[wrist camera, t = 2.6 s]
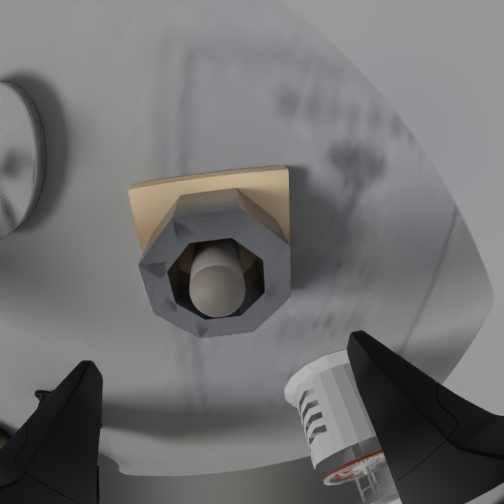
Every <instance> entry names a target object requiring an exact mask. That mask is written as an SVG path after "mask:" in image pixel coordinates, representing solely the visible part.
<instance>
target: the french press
mask: <svg viewBox="0 0 504 504" xmlns="http://www.w3.org/2000/svg"><path fill="white" fill-rule="evenodd" d="M284 394H285V400H286V401H287V402H289V403H290V404H291V405H292V406H294V407H296V408H298V411H299V415H300V417H301V421H302V426H303V429H304V431H305V437H306V440H307V442H308V448H309V452H310V453H311V459H312V463H313V466H314V469H315V470H316V471H318V472H329V473H328V474H327V475H325V477H324V479H323V483H324V484H327V485H334V484H335V485H336V484H341V482H343V483H344V482H345V481H346V482H348V481H350V480H352V481H353V479H356V483H357V486H358V489H359V491H360V494H361V497H362V500H363V502H366V500H365V496H364V491H366V490H367V489H370V488H372V492H373V494H374V497H375V500H376V502H374V503H371V504H402V503H401V500H400V497H399V494H398V493H395V494H393V495H391V496H389V497H386V498H383V499H381V500H378V498H377V495H376V492H375V489H374V487H377V489H378V491H379V493H380V495H381V496H382V495H383V491H382V488H381V486H379V485H378V483H377V481H376V479H375V476H374V471H376V470H377V471H378V470H381V469H383V468H384V467H387V465H388V464H387V461H386V459H385V456H384V453H383V451H382V448H381V446H380V443H379V441H378V438H377V436H376V433H375V431H374V428H373V426H372V423H371V421H370V418H369V416H368V413H367V411H366V408H365V406H364V404H363V401H362V399H361V396H360V394H359V391H358V388H357V385H356V382H355V378H354V375H353V371H352V368H351V364H350V361H349V358H348V354H347V349H345V350H342V351H338V352H335V353H331V354H327V355H325V356H323V357H321V358H319V359H317V360H315V361H313V362H311V363H309V364H307V365H305V366H304V367H303V368H302V369H301V370H299V371H298V372H297V373H296V374H295V375H293V376H292V377H291V378H290V380H289V382H288V383H287V385H286V387H285V389H284ZM303 421H304V424H303ZM307 423H311V425H310V427H306V425H307ZM319 431H321V433H320V434H318V435H316V437H315V438H311V439H310V436H311V434H312V433H317V432H319ZM306 432H307V435H306ZM309 443H310V444H311V445H309ZM355 443H359V446H360V449H361V451H362V454H363V456H362V457H359V458H357V459H355V456H354V453H353V451H352V448H351V445H353V444H355ZM328 456H329V458H327V459H326V460H324V461H322V460H323V459H324V458H326V457H328ZM382 467H383V468H382ZM377 471H376V472H377ZM369 473H370V474H371V475H372V478H373V480H374V482H375V484H373V483H372V480H371V477H370V474H369ZM365 475H366V476H367V477H368V480H369V483H370V486H368V487H366V488H364V489H363V490H362V489H361V486H360V483H359V481H358V478H360V477H363V478H364V476H365Z"/></svg>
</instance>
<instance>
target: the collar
mask: <svg viewBox="0 0 504 504" xmlns="http://www.w3.org/2000/svg"><path fill="white" fill-rule="evenodd" d="M226 238H233V239H234V240H235V241H237V242H238V243H240V244H241V245H243V246H244V247H245V248H247V249H248V250H250V251H251V252H252V253H254V254H255V255H256V261H255V262H254V263H253V264H252V265H251V266H250V267H249V268H248V270H247V271H246V272H245V273H244V274H243V276H244V282H245V297H244V300H243V302H242V304H241V305H240V307H239V308H238V309H237V310H236V311H235V312H233V313H232V314H230V315H228V316H224V317H211V316H208V315H205V314H204V313H202V312H200V311H199V310H198V309H197V308H196V307H195V305H194V304H193V302H192V300H191V297H190V277H191V275H189V274H188V273H186V272H184V271H183V270H181V268H180V264H179V259H178V257H179V256H180V254H181V253H182V252H183V250H184V249H185V248H186V247H187V245H188V244H189V243H193V242H201V241H209V240H218V239H226ZM139 269H140V272H141V275H142V278H143V282H144V285H145V288H146V291H147V294H148V297H149V300H150V303H151V306H152V309H153V312H154V314H156V315H158V316H160V317H162V318H163V319H165V320H167V321H169V322H171V323H172V324H174V325H176V326H178V327H180V328H182V329H184V330H186V331H188V332H189V333H191V334H193V335H195V336H197V337H199V338H205V337H214V336H223V335H232V334H240V333H248V332H253V331H254V330H256V329H257V328H258V327H259V326H260V325H261V324H262V323H263V322H264V321H266V320H267V319H268V318H269V317H270V316H271V315H272V314H273V313H274V312H275V311H276V310H277V309H279V308H280V307H281V306H282V305H283V304H284V303H285V302H286V301H287V300H288V299H289V298H290V276H291V266H290V245H289V243H288V241H287V239H286V237H285V235H284V233H283V231H282V229H281V227H280V225H279V224H278V222H277V220H276V219H275V218H273V217H272V216H271V215H270V214H268V213H267V212H266V211H265V210H263V209H262V208H261V207H260V206H258V205H257V204H256V203H255V202H253V201H252V200H251V199H249V198H248V197H247V196H246V195H244V194H243V193H242V192H240V191H239V190H238V189H237V188H231V189H223V190H214V191H206V192H199V193H191V194H184V195H180V196H179V198H178V199H177V200H176V202H175V203H174V204H173V206H172V207H171V208H170V210H169V211H168V212H167V214H166V215H165V216H164V218H163V219H162V221H161V222H160V223H159V225H158V226H157V228H156V229H155V230H154V232H153V233H152V235H151V237H150V239H149V241H148V243H147V246H146V248H145V250H144V253H143V255H142V258H141V260H140V262H139Z"/></svg>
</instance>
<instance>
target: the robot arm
mask: <svg viewBox="0 0 504 504" xmlns="http://www.w3.org/2000/svg"><path fill="white" fill-rule="evenodd" d="M347 354H348V358H349V361H350V364H351V368H352V371H353V375H354V378H355V382H356V385H357V388H358V391H359V394H360V396H361V399H362V401H363V404H364V406H365V408H366V411H367V413H368V416H369V418H370V421H371V423H372V426H373V428H374V431H375V433H376V436H377V438H378V441H379V443H380V446H381V448H382V451H383V453H384V456H385V459H386V461H387V464H388V467H389V469H390V472H391V474H392V477H393V480H394V482H395V486H396V489H397V491H398V494H399V497H400V500H401V503H402V504H504V416H499V415H495V414H492V413H490V412H488V411H486V410H484V409H482V408H480V407H478V406H476V405H474V404H473V403H471V402H469V401H467V400H465V399H464V398H462V397H460V396H458V395H456V394H455V393H453V392H452V391H450V390H449V389H447V388H446V387H444V386H443V385H441V384H440V383H438V382H436V381H435V380H434V379H432V378H431V377H429V376H428V375H427V374H425V373H424V372H422V371H421V370H419V369H418V368H416V367H415V366H413V365H412V364H411V363H409V362H408V361H406V360H405V359H403V358H402V357H400V356H399V355H398V354H396V353H395V352H393V351H392V350H390V349H389V348H387V347H386V346H385V345H383V344H382V343H380V342H379V341H377V340H376V339H374V338H373V337H372V336H370V335H369V334H367V333H366V332H364V331H362V330H360V331H355V332H352V333H351V334H350V337H349V342H348V346H347ZM102 388H103V378H102V375H101V373H100V371H99V370H98V368H97V367H96V365H95V364H94V362H93V361H91V360H83V361H81V362H80V363H79V364H78V365H77V366H76V367H75V368H74V369H73V370H72V371H71V373H70V374H69V375H68V376H67V377H66V378H65V379H64V380H63V381H62V382H61V383H60V384H59V385H58V386H57V388H56V389H55V390H54V391H53V392H52V393H48V392H41V391H35V396H36V397H37V398H38V399H39V400H40V402H39V405H38V408H37V410H36V411H35V412H34V413H33V414H32V415H31V416H30V418H29V419H28V420H27V422H25V423H24V424H23V426H22V427H21V428H20V429H19V430H18V431H17V432H16V433H15V434H14V436H13V437H12V438H11V439H10V440H9V441H8V442H7V443H6V444H5V445H4V446H3V447H1V448H0V504H99V466H97V461H98V447H99V436H100V429H101V428H102V424H101V417H102Z"/></svg>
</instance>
